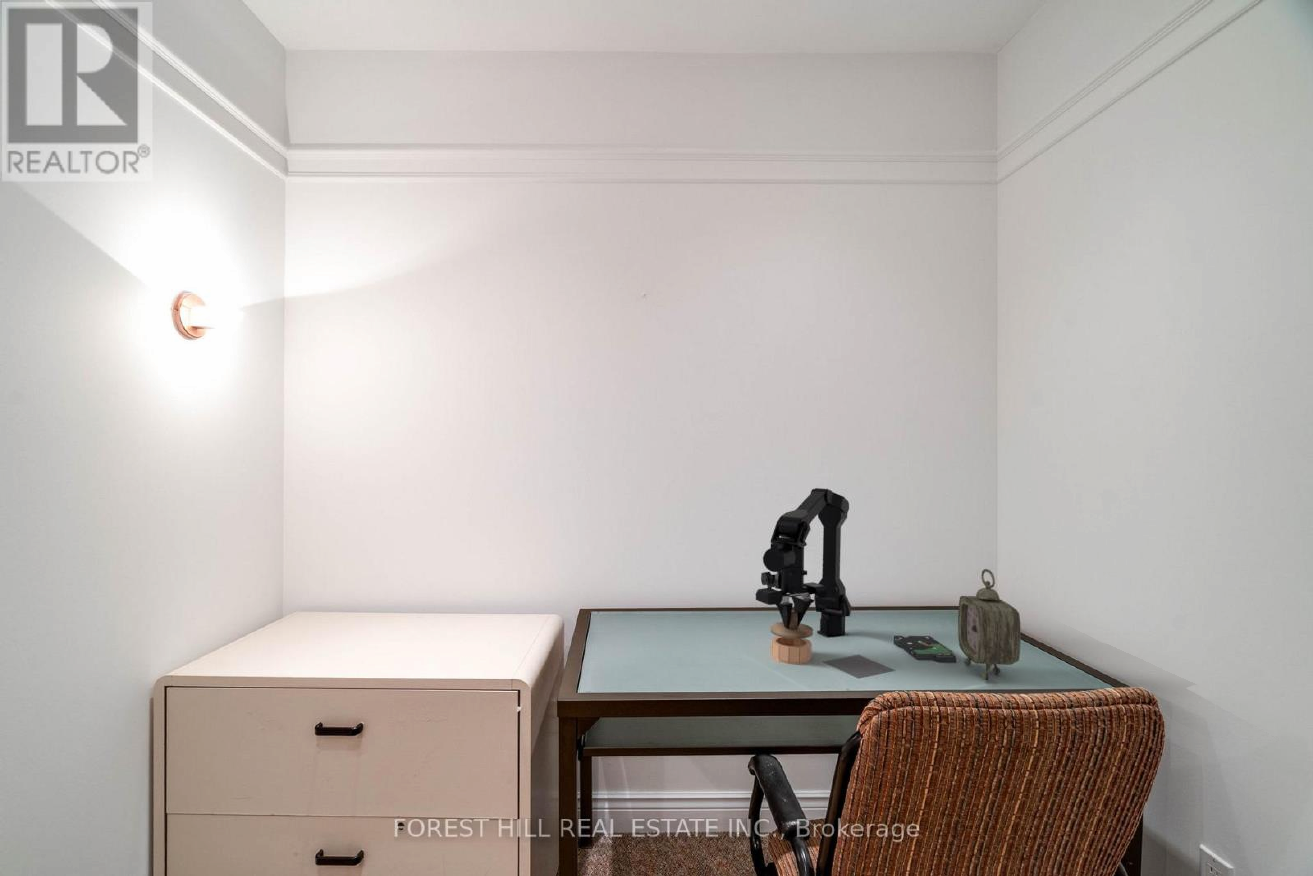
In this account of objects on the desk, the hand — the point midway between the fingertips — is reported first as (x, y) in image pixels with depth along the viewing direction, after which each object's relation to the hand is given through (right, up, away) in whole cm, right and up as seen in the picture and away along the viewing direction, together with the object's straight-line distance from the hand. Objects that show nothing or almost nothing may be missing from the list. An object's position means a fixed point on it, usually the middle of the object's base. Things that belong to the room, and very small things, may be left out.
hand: (791, 627), depth 162 cm
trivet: (+15, -8, -6) cm, 18 cm away
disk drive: (+36, -9, +7) cm, 38 cm away
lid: (0, -1, 0) cm, 1 cm away
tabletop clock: (+46, -9, -8) cm, 47 cm away
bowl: (0, -8, 0) cm, 8 cm away
